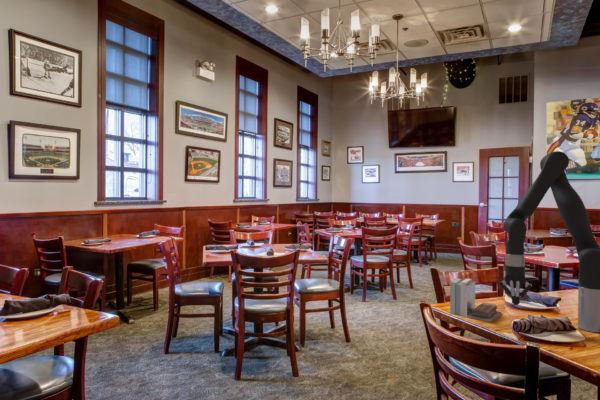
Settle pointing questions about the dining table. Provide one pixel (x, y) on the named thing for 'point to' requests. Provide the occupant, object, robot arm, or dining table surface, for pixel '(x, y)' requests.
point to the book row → (458, 296)
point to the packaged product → (484, 312)
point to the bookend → (469, 299)
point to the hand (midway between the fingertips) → (515, 304)
